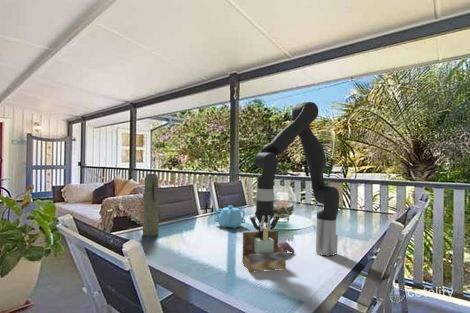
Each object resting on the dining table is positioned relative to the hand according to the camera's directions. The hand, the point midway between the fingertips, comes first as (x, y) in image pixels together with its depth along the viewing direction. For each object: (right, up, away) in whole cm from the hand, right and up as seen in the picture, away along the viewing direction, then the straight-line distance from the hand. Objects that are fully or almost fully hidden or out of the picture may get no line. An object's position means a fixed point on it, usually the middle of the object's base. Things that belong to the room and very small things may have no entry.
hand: (263, 238), depth 130 cm
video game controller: (+11, -12, +15) cm, 23 cm away
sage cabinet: (0, -6, 0) cm, 6 cm away
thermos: (-61, -10, +45) cm, 76 cm away
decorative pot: (-16, -10, +68) cm, 70 cm away
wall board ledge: (0, -12, -1) cm, 12 cm away
